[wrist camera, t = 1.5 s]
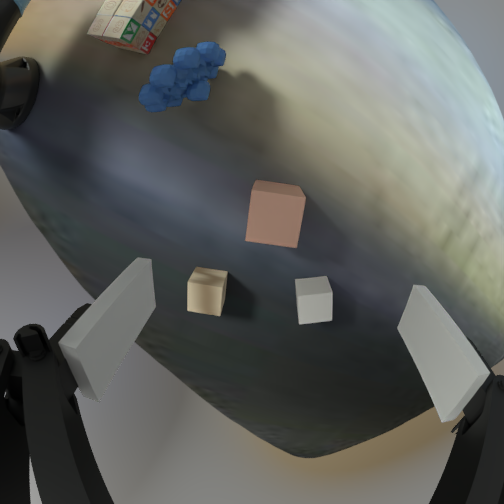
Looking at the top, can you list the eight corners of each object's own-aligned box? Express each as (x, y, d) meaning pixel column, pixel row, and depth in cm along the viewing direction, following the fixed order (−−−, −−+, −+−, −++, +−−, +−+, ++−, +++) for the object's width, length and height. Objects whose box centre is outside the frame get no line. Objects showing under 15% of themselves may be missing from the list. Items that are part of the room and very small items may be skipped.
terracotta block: (250, 220, 40) (245, 240, 32) (255, 179, 37) (251, 189, 30) (292, 226, 40) (296, 248, 32) (299, 186, 37) (306, 197, 30)
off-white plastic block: (296, 305, 45) (299, 324, 40) (294, 279, 43) (297, 296, 38) (327, 302, 44) (332, 320, 40) (326, 275, 42) (332, 292, 38)
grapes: (185, 134, 35) (150, 134, 24) (156, 102, 34) (113, 93, 23) (249, 78, 32) (239, 53, 21) (217, 47, 30) (194, 14, 19)
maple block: (195, 293, 45) (187, 310, 41) (196, 266, 43) (187, 281, 39) (225, 298, 45) (220, 316, 41) (227, 271, 43) (222, 287, 39)
